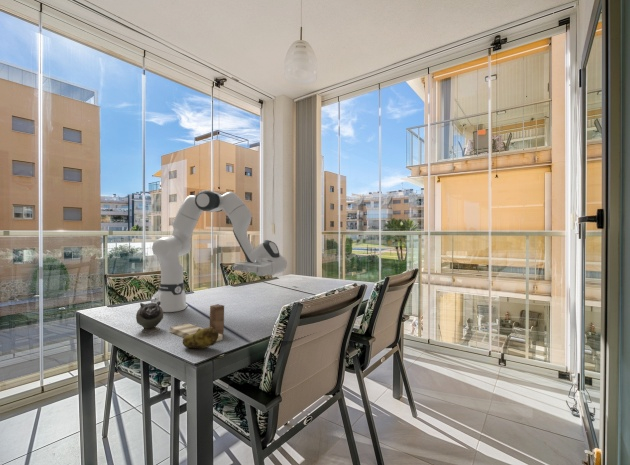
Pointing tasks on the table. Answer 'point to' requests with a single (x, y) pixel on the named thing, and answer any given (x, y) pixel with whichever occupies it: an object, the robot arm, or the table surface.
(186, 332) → the plank
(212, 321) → the wooden block
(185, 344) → the potato
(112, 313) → the table surface
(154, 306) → the round clay pot
